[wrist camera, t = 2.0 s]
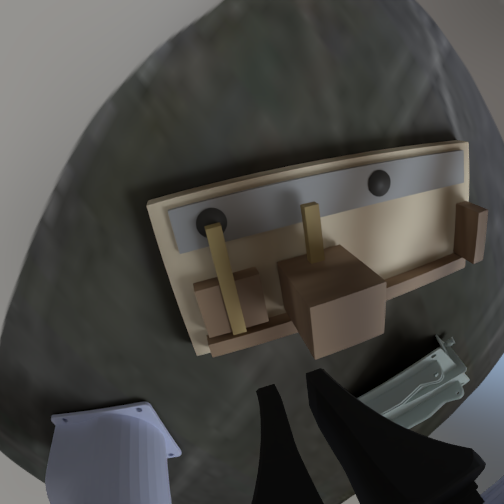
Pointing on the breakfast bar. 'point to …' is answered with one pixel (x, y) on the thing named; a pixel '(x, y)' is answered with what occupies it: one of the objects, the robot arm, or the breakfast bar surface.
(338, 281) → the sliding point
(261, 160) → the breakfast bar surface
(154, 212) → the gauge board
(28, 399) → the breakfast bar surface
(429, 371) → the metal bracket
